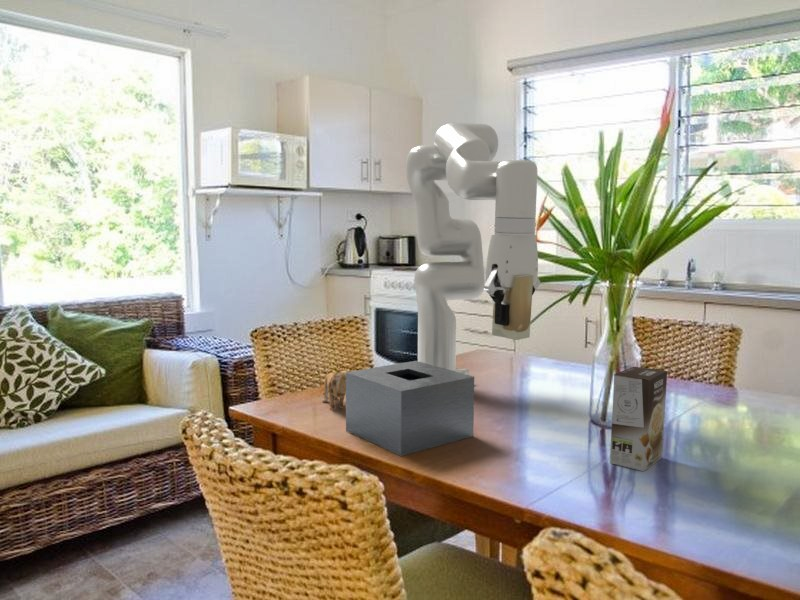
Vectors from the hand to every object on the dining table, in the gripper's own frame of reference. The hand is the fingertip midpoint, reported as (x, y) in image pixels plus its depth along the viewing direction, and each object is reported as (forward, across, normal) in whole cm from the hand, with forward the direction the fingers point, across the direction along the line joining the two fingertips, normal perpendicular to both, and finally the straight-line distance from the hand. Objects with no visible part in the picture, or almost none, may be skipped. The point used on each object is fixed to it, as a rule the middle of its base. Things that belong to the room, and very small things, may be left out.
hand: (511, 322), depth 129 cm
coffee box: (+23, -9, +23) cm, 33 cm away
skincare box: (+3, 0, 0) cm, 3 cm away
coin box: (+23, +14, -13) cm, 30 cm away
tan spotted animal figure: (+24, +15, -39) cm, 48 cm away
